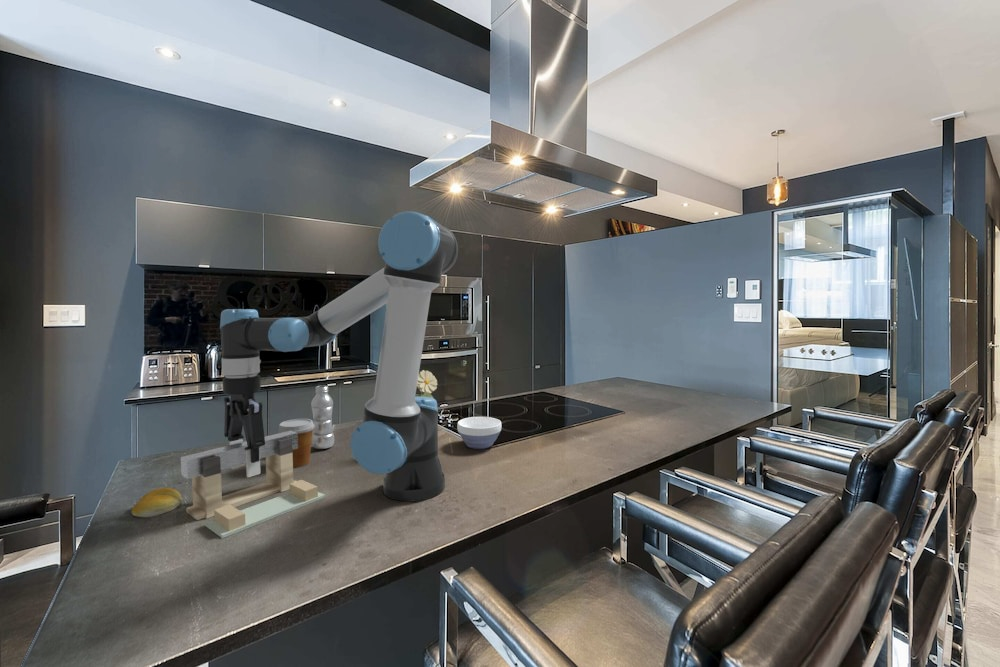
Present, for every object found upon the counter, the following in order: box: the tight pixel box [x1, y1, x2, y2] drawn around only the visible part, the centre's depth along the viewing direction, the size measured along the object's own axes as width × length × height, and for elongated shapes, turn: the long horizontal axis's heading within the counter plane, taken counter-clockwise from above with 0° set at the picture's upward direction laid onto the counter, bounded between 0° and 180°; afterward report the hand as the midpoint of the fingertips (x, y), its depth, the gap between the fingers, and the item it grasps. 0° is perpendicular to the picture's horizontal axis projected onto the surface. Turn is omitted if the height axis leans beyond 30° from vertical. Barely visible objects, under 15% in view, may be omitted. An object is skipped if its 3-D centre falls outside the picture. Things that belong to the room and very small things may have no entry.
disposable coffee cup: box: [277, 418, 314, 468], centre depth 122 cm, size 10×10×12 cm
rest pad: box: [205, 479, 326, 539], centre depth 94 cm, size 8×22×3 cm, turn 145°
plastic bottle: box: [310, 384, 335, 450], centre depth 135 cm, size 6×7×20 cm
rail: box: [180, 431, 298, 480], centre depth 100 cm, size 4×24×4 cm, turn 145°
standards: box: [186, 433, 297, 521], centre depth 100 cm, size 7×22×12 cm, turn 145°
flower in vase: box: [417, 369, 439, 398], centre depth 136 cm, size 13×11×25 cm
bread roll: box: [131, 487, 183, 518], centre depth 95 cm, size 8×9×4 cm
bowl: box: [456, 416, 502, 450], centre depth 139 cm, size 14×14×8 cm
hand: (245, 471), depth 100 cm, fingers open, 8 cm apart
